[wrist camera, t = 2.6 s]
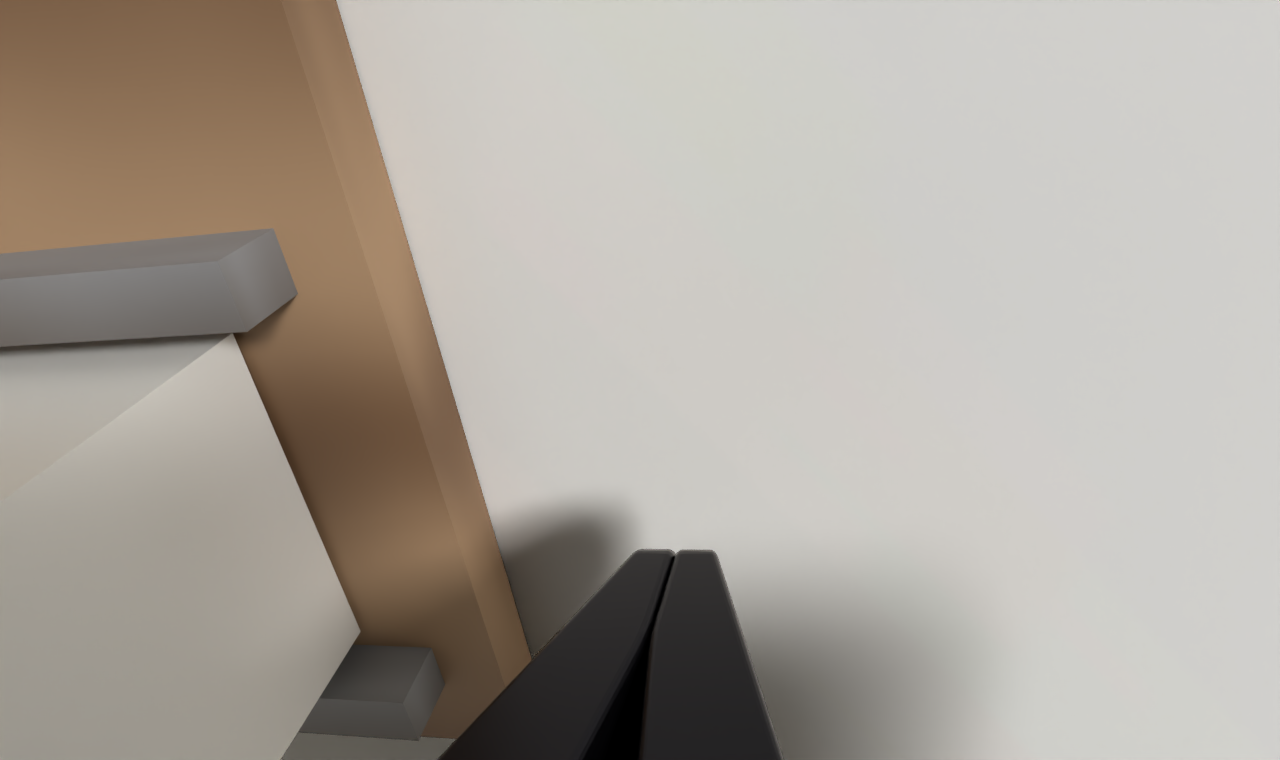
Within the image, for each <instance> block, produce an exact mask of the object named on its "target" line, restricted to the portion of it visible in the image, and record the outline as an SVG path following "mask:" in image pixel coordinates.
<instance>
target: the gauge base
mask: <svg viewBox="0 0 1280 760" xmlns="http://www.w3.org/2000/svg"><path fill="white" fill-rule="evenodd" d="M221 333H233V335H234V337H235V340H236V342H237V344H238V347H239V349H240V351H241V354H242V356H243V358H244V361H245V363H246V365H247V368H248V370H249V372H250V375H251V377H252V379H253V382H254V384H255V386H256V389H257V391H258V393H259V396H260V398H261V400H262V403H263V405H264V407H265V410H266V412H267V414H268V417H269V419H270V421H271V424H272V426H273V428H274V431H275V433H276V435H277V438H278V440H279V442H280V445H281V447H282V449H283V452H284V454H285V456H286V458H287V461H288V463H289V465H290V468H291V470H292V472H293V475H294V477H295V479H296V482H297V484H298V486H299V489H300V491H301V493H302V496H303V498H304V500H305V503H306V505H307V507H308V510H309V512H310V514H311V517H312V519H313V521H314V524H315V526H316V528H317V531H318V533H319V535H320V538H321V540H322V542H323V545H324V547H325V549H326V552H327V554H328V556H329V559H330V561H331V563H332V566H333V568H334V570H335V573H336V575H337V577H338V580H339V582H340V584H341V587H342V589H343V591H344V594H345V596H346V598H347V601H348V603H349V605H350V608H351V610H352V612H353V615H354V617H355V619H356V622H357V624H358V626H359V629H360V631H361V632H360V633H359V635H358V637H357V638H356V640H355V641H354V643H353V645H352V646H351V648H350V649H349V651H348V653H347V654H346V656H345V657H344V659H343V661H342V662H341V664H340V665H339V667H338V669H337V670H336V672H335V673H334V675H333V677H332V678H331V680H330V681H329V683H328V685H327V686H326V688H325V689H324V691H323V693H322V694H321V696H320V697H319V699H318V701H317V702H316V704H315V705H314V707H313V709H312V710H311V712H310V713H309V715H308V717H307V718H306V720H305V721H304V723H303V725H302V726H301V728H300V729H299V731H298V732H302V733H316V734H330V735H345V736H359V737H373V738H387V739H401V740H416V741H419V739H420V737H421V736H422V737H436V738H451V739H457V738H458V737H459V736H460V735H461V734H462V733H463V732H464V731H465V730H466V729H467V727H468V726H469V725H470V724H471V723H472V722H473V721H474V720H475V719H476V718H477V717H478V716H479V715H480V714H481V713H482V712H483V711H484V710H485V709H486V707H487V706H488V705H489V704H490V703H491V702H492V701H493V700H494V699H495V698H496V697H497V696H498V695H499V694H500V693H501V692H502V691H503V690H504V689H505V687H506V686H507V685H508V684H509V683H510V682H511V681H512V680H513V679H514V678H515V677H516V676H517V675H518V674H519V673H520V672H521V671H522V670H523V669H524V667H525V666H526V665H527V664H528V663H529V662H530V661H531V660H532V659H531V655H530V652H529V648H528V645H527V642H526V638H525V635H524V632H523V628H522V625H521V622H520V618H519V615H518V611H517V608H516V605H515V601H514V598H513V595H512V591H511V588H510V584H509V581H508V578H507V574H506V571H505V568H504V564H503V561H502V558H501V554H500V551H499V547H498V544H497V541H496V537H495V534H494V531H493V527H492V524H491V521H490V517H489V514H488V510H487V507H486V504H485V500H484V497H483V494H482V490H481V487H480V483H479V480H478V477H477V473H476V470H475V467H474V463H473V460H472V457H471V453H470V450H469V446H468V443H467V440H466V436H465V433H464V430H463V426H462V423H461V419H460V416H459V413H458V409H457V406H456V403H455V399H454V396H453V393H452V389H451V386H450V382H449V379H448V376H447V372H446V369H445V366H444V362H443V359H442V356H441V352H440V349H439V345H438V342H437V339H436V335H435V332H434V329H433V325H432V322H431V318H430V315H429V312H428V308H427V305H426V302H425V298H424V295H423V292H422V288H421V285H420V281H419V278H418V275H417V271H416V268H415V265H414V261H413V258H412V254H411V251H410V248H409V244H408V241H407V238H406V234H405V231H404V228H403V224H402V221H401V217H400V214H399V211H398V207H397V204H396V201H395V197H394V194H393V191H392V187H391V184H390V180H389V177H388V174H387V170H386V167H385V164H384V160H383V157H382V153H381V150H380V147H379V143H378V140H377V137H376V133H375V130H374V127H373V123H372V120H371V116H370V113H369V110H368V106H367V103H366V100H365V96H364V93H363V89H362V86H361V83H360V79H359V76H358V73H357V69H356V66H355V63H354V59H353V56H352V52H351V49H350V46H349V42H348V39H347V36H346V32H345V29H344V26H343V22H342V19H341V15H340V12H339V9H338V5H337V2H336V0H0V347H5V346H22V345H39V344H55V343H72V342H88V341H105V340H122V339H138V338H155V337H172V336H188V335H205V334H221Z"/></svg>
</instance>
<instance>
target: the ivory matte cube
mask: <svg viewBox="0 0 1280 760" xmlns="http://www.w3.org/2000/svg"><path fill="white" fill-rule="evenodd" d="M360 632H361V631H360V629H359V626H358V624H357V622H356V619H355V617H354V615H353V612H352V610H351V608H350V605H349V603H348V601H347V598H346V596H345V594H344V591H343V589H342V587H341V584H340V582H339V580H338V577H337V575H336V573H335V570H334V568H333V566H332V563H331V561H330V559H329V556H328V554H327V552H326V549H325V547H324V545H323V542H322V540H321V538H320V535H319V533H318V531H317V528H316V526H315V524H314V521H313V519H312V517H311V514H310V512H309V510H308V507H307V505H306V503H305V500H304V498H303V496H302V493H301V491H300V489H299V486H298V484H297V482H296V479H295V477H294V475H293V472H292V470H291V468H290V465H289V463H288V461H287V458H286V456H285V454H284V452H283V449H282V447H281V445H280V442H279V440H278V438H277V435H276V433H275V431H274V428H273V426H272V424H271V421H270V419H269V417H268V414H267V412H266V410H265V407H264V405H263V403H262V400H261V398H260V396H259V393H258V391H257V389H256V386H255V384H254V382H253V379H252V377H251V375H250V372H249V370H248V368H247V365H246V363H245V361H244V358H243V356H242V354H241V351H240V349H239V347H238V344H237V342H236V340H235V337H234V335H233V333H221V334H205V335H188V336H172V337H155V338H138V339H122V340H105V341H88V342H72V343H55V344H39V345H22V346H5V347H0V760H281V758H282V757H283V755H284V753H285V752H286V750H287V749H288V747H289V745H290V744H291V742H292V741H293V739H294V737H295V736H296V734H297V733H298V731H299V729H300V728H301V726H302V725H303V723H304V721H305V720H306V718H307V717H308V715H309V713H310V712H311V710H312V709H313V707H314V705H315V704H316V702H317V701H318V699H319V697H320V696H321V694H322V693H323V691H324V689H325V688H326V686H327V685H328V683H329V681H330V680H331V678H332V677H333V675H334V673H335V672H336V670H337V669H338V667H339V665H340V664H341V662H342V661H343V659H344V657H345V656H346V654H347V653H348V651H349V649H350V648H351V646H352V645H353V643H354V641H355V640H356V638H357V637H358V635H359V633H360Z"/></svg>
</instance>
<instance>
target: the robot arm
mask: <svg viewBox="0 0 1280 760" xmlns="http://www.w3.org/2000/svg"><path fill="white" fill-rule="evenodd" d="M437 760H784V758H783V755H782V752H781V749H780V746H779V743H778V740H777V737H776V734H775V731H774V728H773V725H772V722H771V719H770V715H769V712H768V709H767V706H766V703H765V700H764V697H763V694H762V691H761V688H760V685H759V682H758V679H757V676H756V673H755V669H754V666H753V663H752V660H751V657H750V654H749V651H748V648H747V645H746V642H745V639H744V636H743V633H742V630H741V627H740V623H739V620H738V617H737V614H736V611H735V608H734V605H733V602H732V599H731V596H730V593H729V590H728V587H727V584H726V581H725V577H724V574H723V571H722V568H721V565H720V562H719V559H718V556H717V554H716V553H715V552H714V551H713V550H680V551H679V552H677V553H676V554H675V552H673V551H672V550H669V549H640V550H637V551H636V552H634V553H633V554H632V555H631V556H630V557H629V558H628V559H627V560H626V561H625V562H624V563H623V564H622V565H621V566H620V567H619V568H618V570H617V571H616V572H615V573H614V574H613V575H612V576H611V577H610V578H609V579H608V580H607V581H606V582H605V583H604V584H603V585H602V586H601V587H600V588H599V590H598V591H597V592H596V593H595V594H594V595H593V596H592V597H591V598H590V599H589V600H588V601H587V602H586V603H585V604H584V605H583V606H582V607H581V608H580V610H579V611H578V612H577V613H576V614H575V615H574V616H573V617H572V618H571V619H570V620H569V621H568V622H567V623H566V624H565V625H564V626H563V627H562V628H561V630H560V631H559V632H558V633H557V634H556V635H555V636H554V637H553V638H552V639H551V640H550V641H549V642H548V643H547V644H546V645H545V646H544V647H543V649H542V650H541V651H540V652H539V653H538V654H537V655H536V656H535V657H534V658H533V659H532V660H531V661H530V662H529V663H528V664H527V665H526V666H525V667H524V669H523V670H522V671H521V672H520V673H519V674H518V675H517V676H516V677H515V678H514V679H513V680H512V681H511V682H510V683H509V684H508V685H507V686H506V687H505V689H504V690H503V691H502V692H501V693H500V694H499V695H498V696H497V697H496V698H495V699H494V700H493V701H492V702H491V703H490V704H489V705H488V706H487V707H486V709H485V710H484V711H483V712H482V713H481V714H480V715H479V716H478V717H477V718H476V719H475V720H474V721H473V722H472V723H471V724H470V725H469V726H468V727H467V729H466V730H465V731H464V732H463V733H462V734H461V735H460V736H459V737H458V738H457V739H456V740H455V741H454V742H453V743H452V744H451V745H450V746H449V747H448V749H447V750H446V751H445V752H444V753H443V754H442V755H441V756H440V757H439V758H438V759H437Z"/></svg>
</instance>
